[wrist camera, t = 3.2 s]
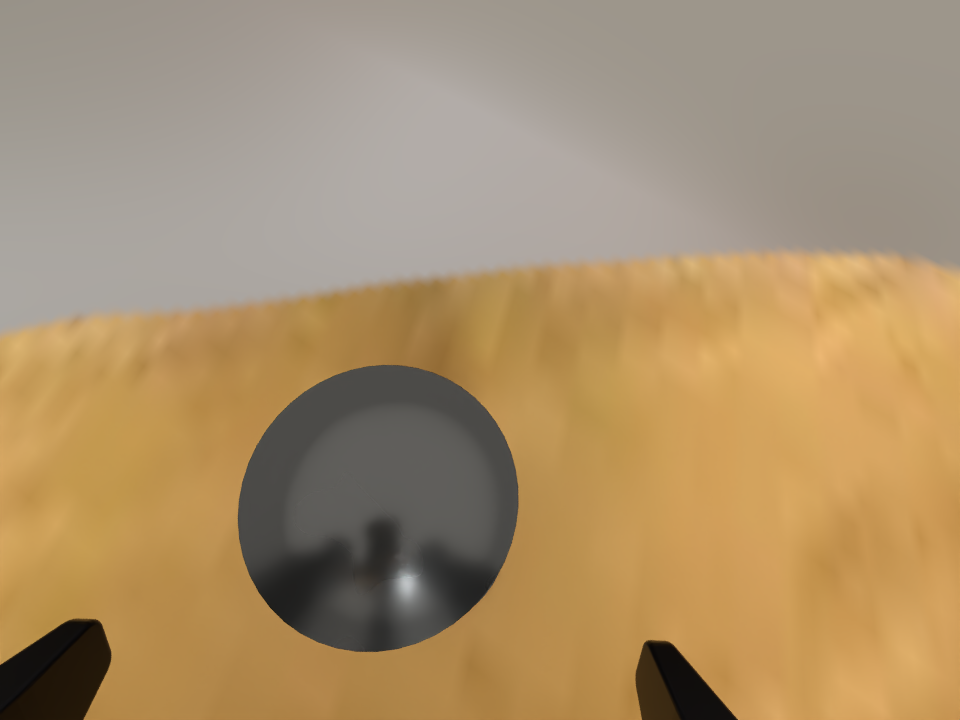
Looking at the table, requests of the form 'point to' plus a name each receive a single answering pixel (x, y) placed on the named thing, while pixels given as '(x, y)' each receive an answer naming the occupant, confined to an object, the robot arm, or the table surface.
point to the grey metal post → (378, 508)
